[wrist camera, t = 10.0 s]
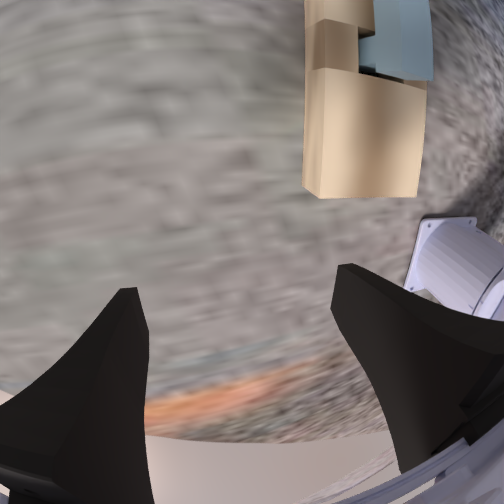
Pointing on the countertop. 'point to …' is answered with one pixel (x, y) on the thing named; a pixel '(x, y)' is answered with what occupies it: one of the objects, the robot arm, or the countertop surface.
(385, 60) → the clip
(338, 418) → the countertop surface
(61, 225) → the countertop surface
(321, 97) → the rail
